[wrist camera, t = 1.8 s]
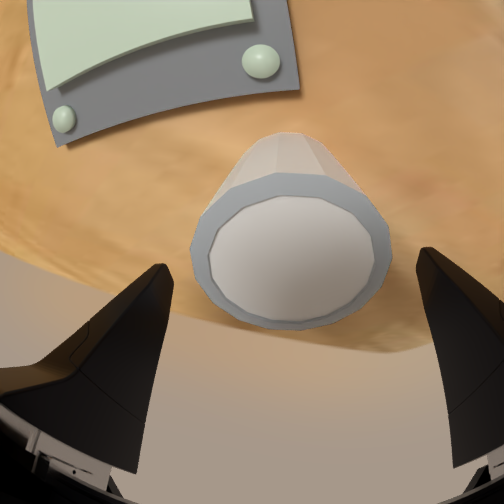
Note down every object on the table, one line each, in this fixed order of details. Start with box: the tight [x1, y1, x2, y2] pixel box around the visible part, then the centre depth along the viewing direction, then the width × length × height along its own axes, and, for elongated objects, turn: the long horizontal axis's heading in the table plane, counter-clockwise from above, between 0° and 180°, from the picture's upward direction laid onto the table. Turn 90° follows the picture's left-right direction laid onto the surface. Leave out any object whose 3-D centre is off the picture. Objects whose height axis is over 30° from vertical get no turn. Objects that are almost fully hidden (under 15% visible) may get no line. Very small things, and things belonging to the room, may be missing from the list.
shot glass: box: [190, 132, 392, 330], centre depth 12 cm, size 7×7×7 cm
